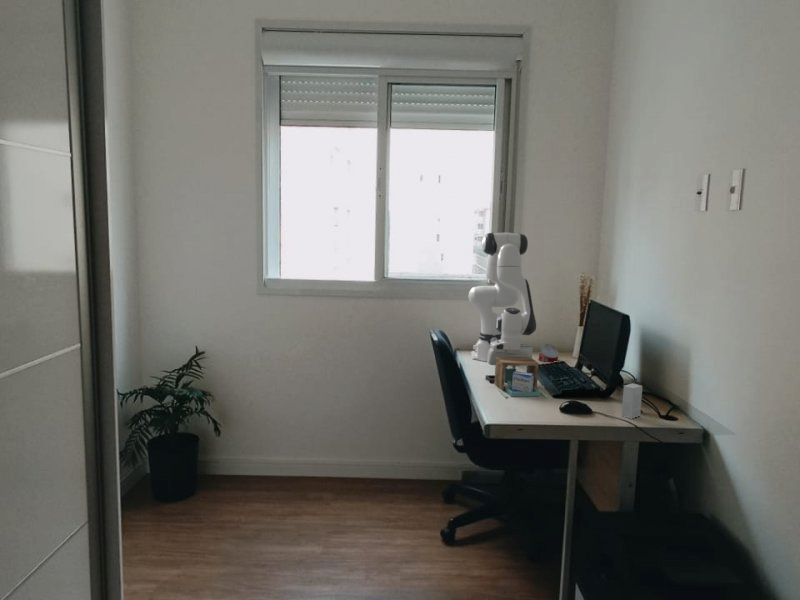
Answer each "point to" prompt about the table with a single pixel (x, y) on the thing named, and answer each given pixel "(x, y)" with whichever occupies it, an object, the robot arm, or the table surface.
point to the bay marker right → (542, 393)
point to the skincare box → (632, 400)
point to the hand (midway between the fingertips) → (508, 374)
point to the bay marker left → (502, 393)
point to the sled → (509, 380)
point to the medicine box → (522, 382)
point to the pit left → (490, 378)
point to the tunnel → (514, 361)
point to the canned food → (548, 353)
